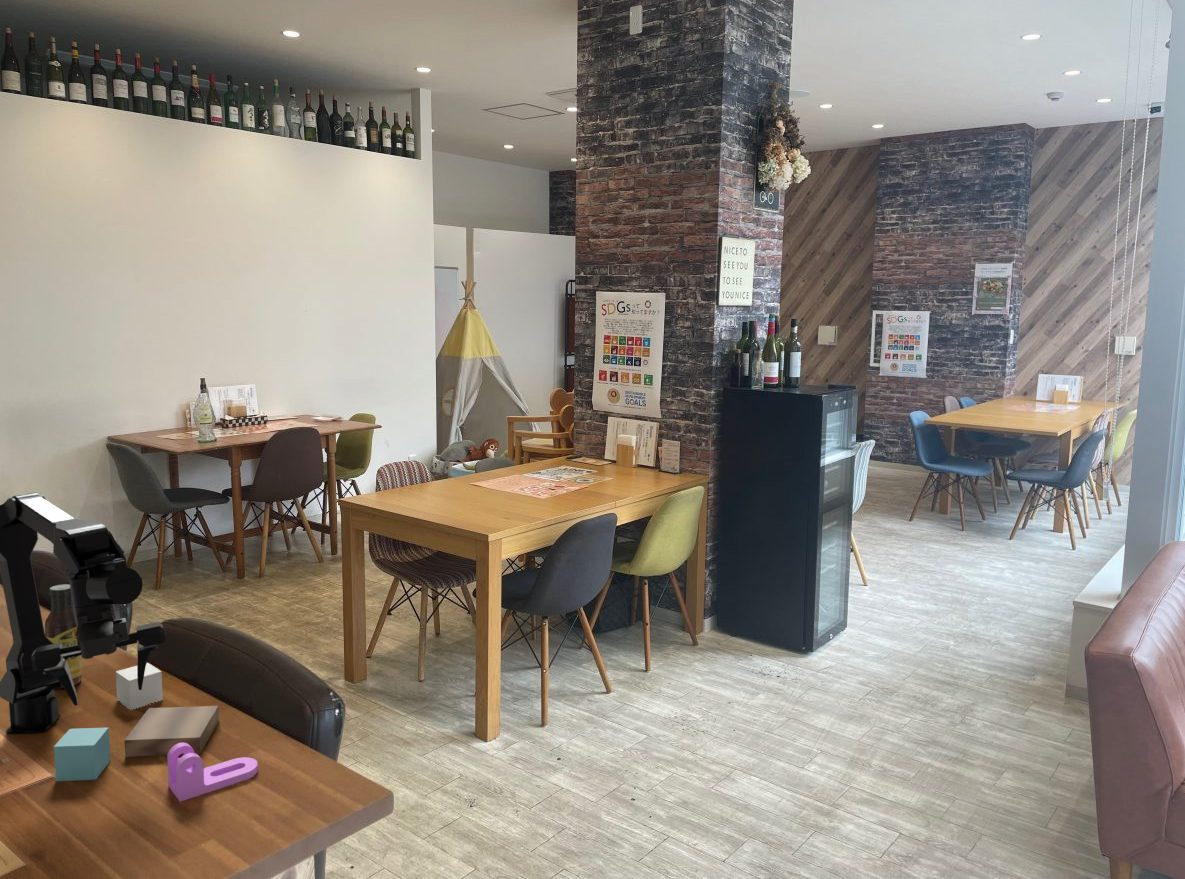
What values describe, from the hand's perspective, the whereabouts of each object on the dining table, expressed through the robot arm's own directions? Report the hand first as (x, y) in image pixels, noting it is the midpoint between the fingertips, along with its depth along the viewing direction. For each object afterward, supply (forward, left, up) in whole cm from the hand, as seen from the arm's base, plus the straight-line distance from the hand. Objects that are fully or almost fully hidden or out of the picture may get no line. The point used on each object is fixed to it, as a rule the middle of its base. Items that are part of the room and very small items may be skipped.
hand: (108, 697), depth 144 cm
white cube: (-4, +26, -13) cm, 29 cm away
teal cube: (-4, 0, -13) cm, 13 cm away
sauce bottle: (-21, +35, -13) cm, 43 cm away
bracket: (+18, -5, -13) cm, 22 cm away
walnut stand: (+7, +10, -13) cm, 17 cm away
